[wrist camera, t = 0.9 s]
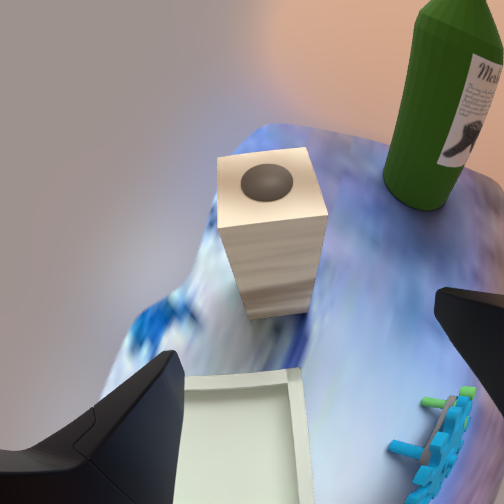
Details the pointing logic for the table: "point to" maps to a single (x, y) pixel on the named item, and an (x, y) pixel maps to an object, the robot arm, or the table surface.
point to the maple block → (271, 228)
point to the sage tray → (244, 440)
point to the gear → (438, 445)
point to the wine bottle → (443, 100)
